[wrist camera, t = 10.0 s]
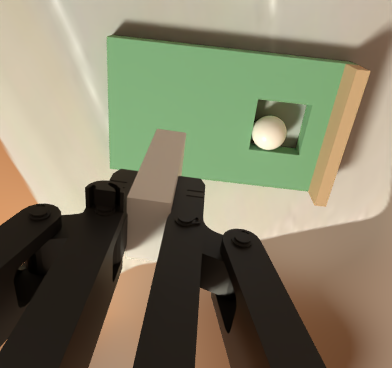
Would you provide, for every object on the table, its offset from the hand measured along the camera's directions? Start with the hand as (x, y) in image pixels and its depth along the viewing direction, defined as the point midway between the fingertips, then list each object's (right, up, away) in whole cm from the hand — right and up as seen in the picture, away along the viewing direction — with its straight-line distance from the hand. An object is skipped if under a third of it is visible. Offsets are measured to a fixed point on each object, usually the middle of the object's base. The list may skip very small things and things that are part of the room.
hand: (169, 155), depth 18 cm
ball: (+10, +5, +20) cm, 23 cm away
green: (+4, +6, +20) cm, 21 cm away
